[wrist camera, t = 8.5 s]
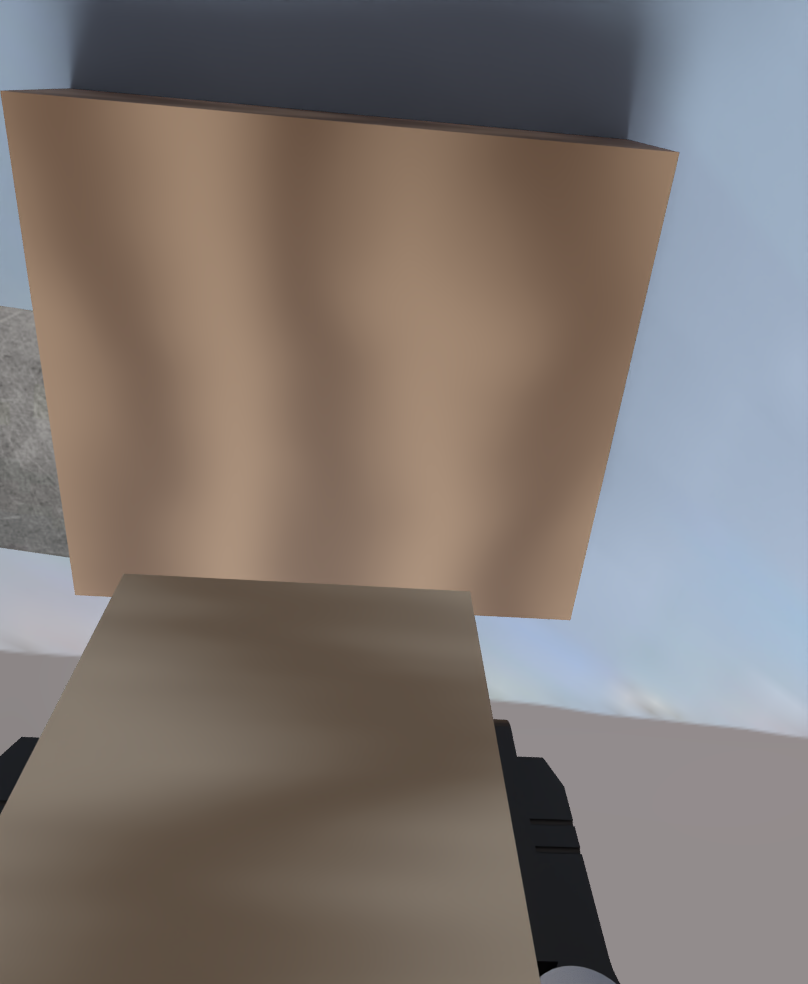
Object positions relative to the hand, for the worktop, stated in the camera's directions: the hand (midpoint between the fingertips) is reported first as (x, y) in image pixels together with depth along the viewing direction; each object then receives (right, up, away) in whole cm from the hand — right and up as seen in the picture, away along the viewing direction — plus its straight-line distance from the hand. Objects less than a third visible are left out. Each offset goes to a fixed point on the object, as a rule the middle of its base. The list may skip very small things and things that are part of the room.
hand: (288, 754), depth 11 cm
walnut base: (-1, +9, +17) cm, 19 cm away
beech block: (0, 0, +1) cm, 1 cm away
